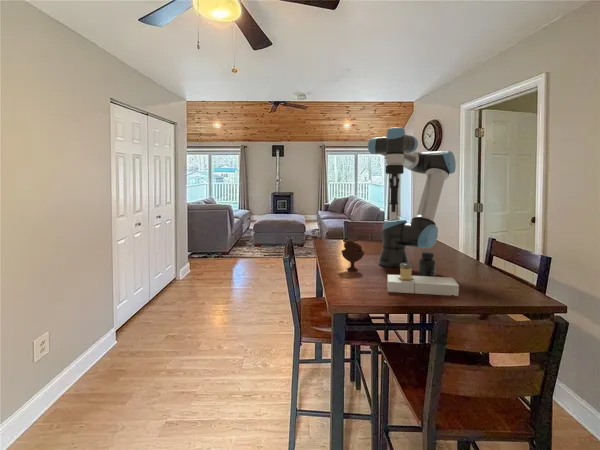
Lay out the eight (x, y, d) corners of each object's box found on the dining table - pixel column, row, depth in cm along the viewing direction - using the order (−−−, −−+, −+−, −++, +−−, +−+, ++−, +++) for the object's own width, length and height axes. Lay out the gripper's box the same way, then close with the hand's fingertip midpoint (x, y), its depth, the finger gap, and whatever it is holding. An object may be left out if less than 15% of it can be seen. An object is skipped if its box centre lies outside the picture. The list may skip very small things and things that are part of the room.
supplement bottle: (436, 282, 161) (437, 254, 160) (419, 281, 162) (420, 254, 161) (433, 278, 168) (434, 251, 166) (417, 277, 169) (418, 251, 168)
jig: (387, 283, 159) (387, 274, 158) (452, 287, 153) (452, 277, 153) (387, 291, 147) (388, 281, 147) (458, 295, 142) (458, 285, 141)
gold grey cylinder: (398, 286, 154) (399, 262, 153) (411, 287, 153) (411, 263, 152) (399, 289, 150) (400, 265, 149) (412, 290, 149) (413, 265, 148)
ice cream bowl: (354, 274, 176) (354, 242, 174) (336, 269, 184) (336, 239, 182) (368, 270, 183) (369, 239, 181) (350, 266, 191) (351, 237, 189)
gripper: (385, 165, 170) (384, 217, 172) (386, 164, 157) (384, 220, 160) (402, 165, 168) (401, 218, 171) (404, 163, 155) (402, 220, 158)
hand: (393, 219), depth 165 cm, fingers closed
